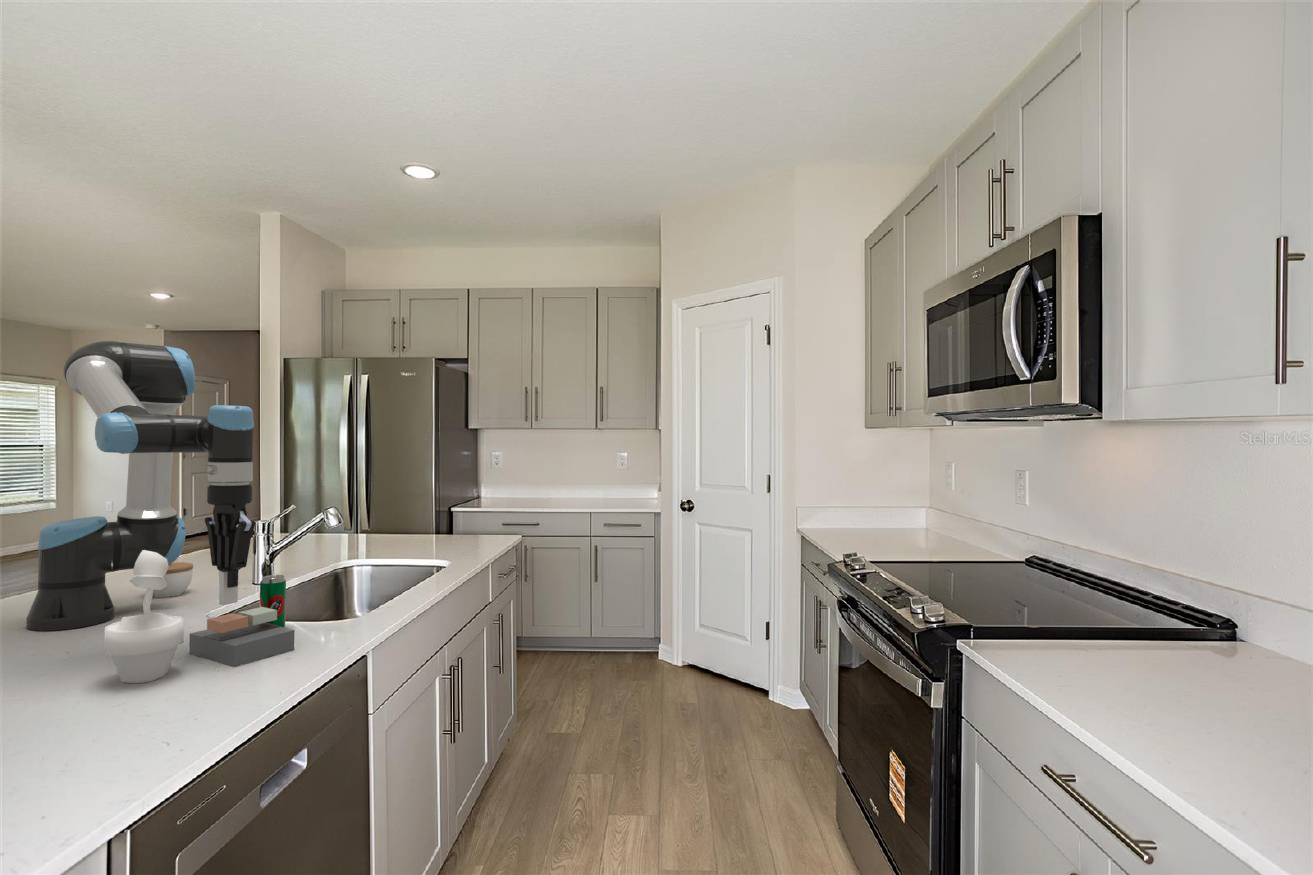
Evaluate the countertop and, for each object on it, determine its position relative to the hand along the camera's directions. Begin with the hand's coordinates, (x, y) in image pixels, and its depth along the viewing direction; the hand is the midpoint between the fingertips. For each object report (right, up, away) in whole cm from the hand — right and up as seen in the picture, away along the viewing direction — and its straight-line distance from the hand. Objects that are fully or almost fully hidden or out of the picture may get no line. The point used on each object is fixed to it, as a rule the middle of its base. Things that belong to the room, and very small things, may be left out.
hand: (228, 603), depth 133 cm
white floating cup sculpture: (-7, -11, -13) cm, 18 cm away
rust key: (0, -5, 0) cm, 5 cm away
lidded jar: (-47, -10, +48) cm, 67 cm away
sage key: (+3, -5, +5) cm, 8 cm away
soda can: (-1, -11, +18) cm, 21 cm away
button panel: (+1, -10, +3) cm, 11 cm away
